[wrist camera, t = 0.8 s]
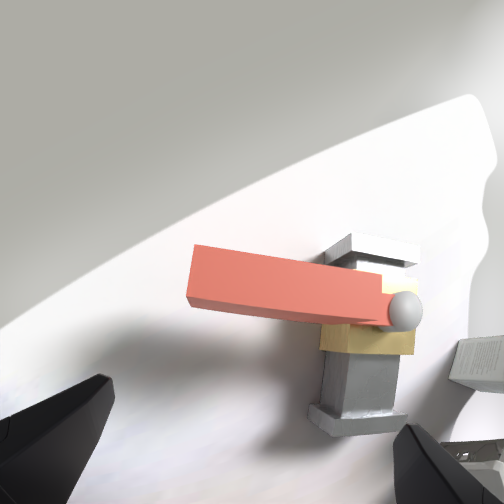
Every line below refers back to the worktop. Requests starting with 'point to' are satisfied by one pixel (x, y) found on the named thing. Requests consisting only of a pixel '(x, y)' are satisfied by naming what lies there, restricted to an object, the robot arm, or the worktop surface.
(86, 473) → the worktop surface
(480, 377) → the skincare box
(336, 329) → the valve body
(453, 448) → the electrical switch
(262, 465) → the worktop surface
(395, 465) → the robot arm
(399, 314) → the lever
